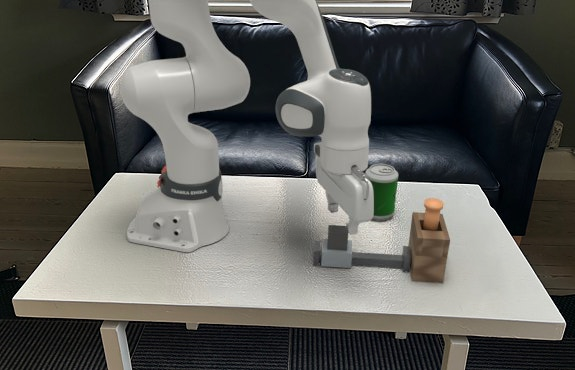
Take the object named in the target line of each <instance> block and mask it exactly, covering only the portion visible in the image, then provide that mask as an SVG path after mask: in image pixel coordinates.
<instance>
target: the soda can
mask: <svg viewBox="0 0 575 370" xmlns="http://www.w3.org/2000/svg"><path fill="white" fill-rule="evenodd" d="M364 173H365V174H366V176H367V179H368V180H369V181H370V182H371V184H372V187H373V194H374V215H373V218H372V219H371V220H373V221H379V222H380V221H381V222H382V221H387V220H389V219H390V218H391V217H392V216H394V214H395V211H396V210H395V209H396V200H397V192H398V191H397V190H398V181H399V172H398V171H397V170H396V169H395V168H394V166H392V165H390V164H386V163H376V164H372V165H371V166H370V167H369V168H368V167H367V169H365V172H364Z"/></svg>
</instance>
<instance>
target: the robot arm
mask: <svg viewBox="0 0 575 370" xmlns="http://www.w3.org/2000/svg"><path fill="white" fill-rule="evenodd" d="M249 2H250V4H251V6H252V8H253V9H254V10H255V11H256V12H257V13H259V14H260V15H261V16H263V17H265V18H267V19H269V20H272V21H275V22H277V23H279V24H282V26H285V27H286V28H287V29H289V30H290V31H291V32H292V34H293V35H294V36H295V39H296V42H297V44H298V47H299V50H300V53H301V56H302V60H303V63H304V65H305V68H306V70H307V71H306V72H307V80H305V81H303V82H299V83H297V84H294V85H292V86H290V87H287V88H286V89H285V90H283V91H281V93H279V95H278V96H277V99H276V103H275V114H276V115H275V116H276V118H277V121H278V123H279V125H280V127H281V128H282V129H283V130H284V131H285V132H287V133H288V134H290V135H292V136H293V137H294V136H296V137H320V138H321V141H320V142H314V144H313V152H314V154H315V177H316V179H317V180H316V181H317V183H318V184H319V185H320V187H321V188H322V189H323V190H324V191H325V197H326V202H327V210H328V211H329V212H330V213H331V214H334V213H338V211H339V207H340V208H341V210H342V211H343V212H344V213H345V214H346V215H347V216H348V220H349V221H348V223H346V224H345V226H346V231H347V232H348V235H351V236H352V235H357V234H358V230H359V225H360V224H361V223H366V222H371V221H372V220H373V219H372V218H373V215H374V194H373V187H372V184H371V182H370V181H369V180H368V179H367V176H366V174H365V172H364V171H366V170H367V169H368V167H369V166H368V165H369V154H370V153H369V151H370V150H369V149H370V138H369V135H368V133H369V132H368V131H369V127H370V125H371V121H372V119H371V116H372V91H371V85H370V82H369V80H368V78H367V76H364V74H363V73H361V72H358V71H356V70H353V69H349V68H347V69H346V68H341V67H340V66H339V63H338V61H337V58H336V54H335V51H334V47H333V45H332V41H331V38H330V34H329V32H328V28H327V25H326V21H325V19H324V17H323V16H324V15H323V14H322V10H321V9H320V6H319V4H318V2H317V0H249ZM148 7H149V8H148V9H149V15H150V22H151V24H152V26H153V28H154V29H155V30H156V32H158V34H160V35H162V36H163V37H165V38H168V39H171V40H172V41H175V42H178V43H180V44H181V45H182V47H183V48H184V52H185V56H183V57H177V58H165V59H153V60H148V61H144V62H142V63H138V64H135V65H134V64H133V65H132V66H129V67H128V68H126V70H125V71H124V72H123V75H122V77H121V80H120V89H119V90H120V92H119V93H120V96H121V100H122V102H123V103H124V105H125V107H126V108H127V110H128V111H129V112H130V113H131V114H133V115H134V116H135V117H138V118H140V119H141V120H143V121H145V122H146V123H147V124H148V125H149V126H150V127H151V128H152V129H153V130H154V131H155V132H156V134H157V135H158V137H159V139H160V140H161V144H162V148H163V153H164V159H165V166H164V167H163V168H162V169H161V174H160V175H159V177H158V181H157V182H156V184H157V189H155V190H154V191H153V192H151V193H149V194H148V195H147V196H146V197H145V198H144V199H143V200H142V201H141V203H140V205H139V206H138V209H137V212H136V215H135V216H134V218H133V219H132V220H130V223H129V225H128V226H127V230H126V239H127V241H128V242H131V243H134V244H139V245H145V246H151V247H156V248H161V249H166V250H170V251H171V250H172V251H177V252H181V253H182V252H183V253H193V252H194V251H196V250H197V249H199V248H201V247H204V246H208V245H211V244H214V243H216V242H218V241H220V240H222V239H224V238H225V236H226V235H227V234H228V232H229V230H230V224H229V222H228V219H227V217H226V214H225V208H224V204H223V198H222V196H223V190H224V187H223V178H222V171H221V169H220V164H219V163H220V161H219V159H220V158H219V143H218V139H217V137H216V136H215V135H214V133H213V132H211V131H210V130H209V129H207V128H205V127H203V126H200V125H197V124H194V123H191V122H190V121H189V118H188V117H189V115H190V114H193V113H200V112H207V111H209V112H210V111H215V110H217V111H218V110H223V109H227V108H229V107H232V106H235V105H238V104H241V103H242V102H244V100H245V99H246V98H247V96H248V94H249V91H250V87H251V77H250V73H249V70H248V68H247V66H246V65H245V63H244V62H243V61H242V60H241V59H240V57H238V56H236V55H235V54H233V53H232V52H231V51H229V50H228V49H227V48H226V47H225V45H224V44H223V42H222V41H221V40H220V39H219V37H218V35H217V33H216V30H215V28H214V26H213V22H212V18H211V13H210V7H209V0H148Z"/></svg>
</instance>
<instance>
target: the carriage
mask: <svg viewBox="0 0 575 370" xmlns="http://www.w3.org/2000/svg"><path fill="white" fill-rule="evenodd" d="M327 229H328V230H327V238H323V239H322V245H321V246H322V248H321V250H322V263H320V264H321V267H331V268H345V269H346V268H347V269H348V268H349V269H352V266H351V261H352V252H353V240H352V239H349V233H348V232H347V231H346V225H338V224H337V225H335V224H328V228H327Z"/></svg>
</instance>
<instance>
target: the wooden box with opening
mask: <svg viewBox="0 0 575 370" xmlns="http://www.w3.org/2000/svg"><path fill="white" fill-rule="evenodd" d="M424 217H425V212H417V211H416V212H415V211H413V212H412V214H411V222H410V232H409V237H408V245H407V246H409V248H410V254H411V261H410V269H409V273H410V277H411V282H417V283H419V282H420V283H434V284H444V279H445V274H446V270H447V269H446V268H447V261H448V256H449V250H450V244H451V237H450V233H449V231H448V227H447V225H446V221H445V217H444V214H443V213H440V216H439V223H438V230H437V231H428V230H423V224H424Z"/></svg>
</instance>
